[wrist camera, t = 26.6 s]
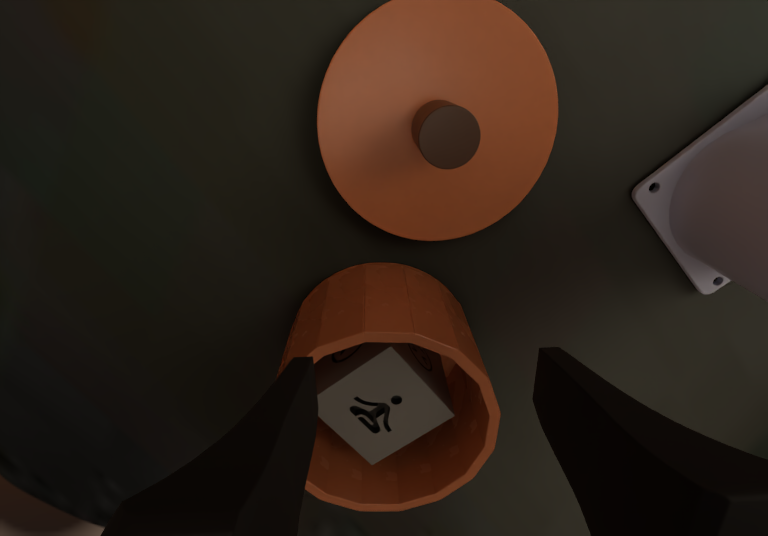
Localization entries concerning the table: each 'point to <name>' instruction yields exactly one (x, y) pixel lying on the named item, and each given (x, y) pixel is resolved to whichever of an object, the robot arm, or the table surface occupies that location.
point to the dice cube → (382, 395)
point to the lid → (437, 116)
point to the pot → (397, 325)
